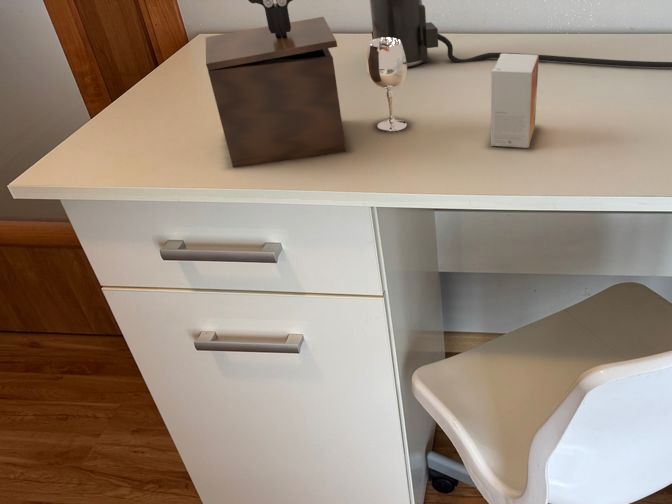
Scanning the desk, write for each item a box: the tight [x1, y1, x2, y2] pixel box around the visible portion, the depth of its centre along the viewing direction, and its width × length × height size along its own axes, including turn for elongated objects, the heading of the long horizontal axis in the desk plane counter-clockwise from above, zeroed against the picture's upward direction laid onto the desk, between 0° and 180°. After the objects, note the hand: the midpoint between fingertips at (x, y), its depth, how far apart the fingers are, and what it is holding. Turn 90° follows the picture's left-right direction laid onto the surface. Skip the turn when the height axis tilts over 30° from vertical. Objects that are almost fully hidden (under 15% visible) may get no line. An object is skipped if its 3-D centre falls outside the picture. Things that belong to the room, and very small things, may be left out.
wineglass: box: [365, 37, 408, 132], centre depth 98 cm, size 6×6×12 cm
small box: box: [490, 52, 540, 149], centre depth 95 cm, size 8×6×10 cm
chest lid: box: [205, 16, 338, 71], centre depth 89 cm, size 16×12×1 cm
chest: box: [207, 48, 347, 168], centre depth 94 cm, size 16×12×13 cm
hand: (280, 35), depth 89 cm, fingers closed
